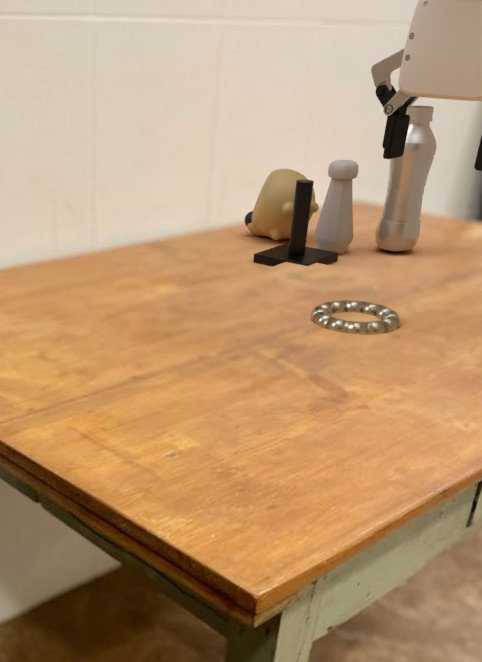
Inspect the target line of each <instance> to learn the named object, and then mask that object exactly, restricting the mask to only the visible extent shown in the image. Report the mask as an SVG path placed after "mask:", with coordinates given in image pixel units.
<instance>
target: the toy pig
mask: <svg viewBox="0 0 482 662" xmlns="http://www.w3.org/2000/svg"><path fill="white" fill-rule="evenodd" d="M297 180H309V179H308V177H306V176H305V175H304V174H302V173H301V172H299V171H297V170H294V169H289V168H277V169H275V170H273V171H271V172H270V173H269V175H268V176H267V177H266V179H265V181H264V183H263V185H262V187H261V189H260V192H259V194H258V195H257V199H256V201H255V204H254V207H253V209H252V211H249V212H247V214H246V215H245V216H244V225H245V226H246V227H247V229H248V231H249V232H250V233H251V234H253V235H254V236H259V237H268V238H270V239H272V240H273V241H280V240H281V241H282V240H287V239H290V233H291V224H292V215H293V206H294V198H295V189H296V181H297ZM319 209H320V208H319V204H318V203H317V202H316V194H315V189H314V188H313V191H312V199H311V207H310V215H309V222H310V221H311V219H312V218H313V214H314V213H317V212H318V211H319Z"/></svg>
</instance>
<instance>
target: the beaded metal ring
mask: <svg viewBox="0 0 482 662" xmlns="http://www.w3.org/2000/svg"><path fill="white" fill-rule="evenodd" d="M339 313H358V314H363V315H364V314H365V315H370V316H373V317H376V318H377V319H379V320H373V321H355V320H354V321H353V320H346V319H342V318H338V317H334V316H332V315H334V314H339ZM310 321H311V323H314V324H315V325H317V326H319V327H320V328H322V329H326V330H328V331H329V330H330V331H334V332H339V333H342V334H350V335H365V336H371V335H380V334H388V333H391V332H394V331H395V330H397V329H400V327H401V325H402V323H401V319H400V315H399V313H398V312H397V311H395V310H393V309H391V308H389V307H387V306H385V305H383V304H379V303H374V302H369V301H364V300H349V299H348V300H347V299H344V300H343V299H342V300H335V301H334V300H333V301H326V302H324V303H322V304H319V305H316V306H315V307H314V308H313V309H312V310H311V312H310Z"/></svg>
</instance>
